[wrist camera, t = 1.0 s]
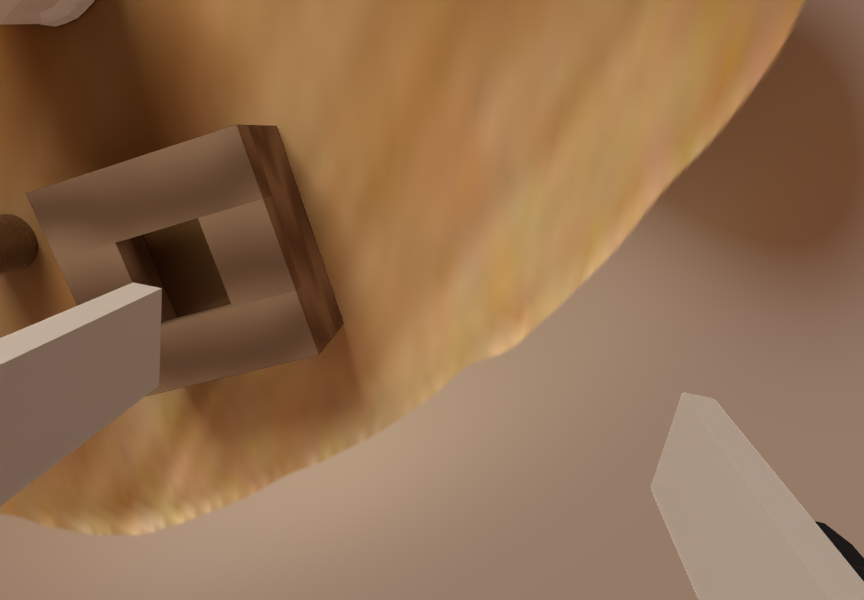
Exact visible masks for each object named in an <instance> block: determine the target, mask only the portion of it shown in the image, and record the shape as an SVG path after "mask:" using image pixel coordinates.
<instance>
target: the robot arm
mask: <svg viewBox="0 0 864 600" xmlns="http://www.w3.org/2000/svg"><path fill="white" fill-rule="evenodd" d="M161 303H162V288H158V287H153V286H148V285H143V284H138V283H131V284H128V285H126V286H123V287H121V288H119V289H116V290H114V291H112V292H109V293H107V294H104V295H102V296H100V297H97V298H95V299H92V300H90V301H88V302H85V303H83V304H81V305H78V306H76V307H73V308H71V309H69V310H66V311H64V312H61V313H59V314H57V315H54V316H52V317H49V318H47V319H45V320H42V321H40V322H38V323H35V324H33V325H30V326H28V327H26V328H23V329H21V330H18V331H16V332H14V333H11V334H9V335H7V336H4V337H2V338H0V506H1V505H3V504H4V503H5V502H7V501H8V500H9V499H11V498H12V497H13V496H15V495H16V494H17V493H18V492H20V491H21V490H22V489H24V488H25V487H26V486H28V485H29V484H30V483H32V482H33V481H34V480H36V479H37V478H38V477H40V476H41V475H42V474H44V473H45V472H46V471H47V470H49V469H50V468H51V467H53V466H54V465H55V464H57V463H58V462H59V461H61V460H62V459H63V458H65V457H66V456H67V455H69V454H70V453H71V452H73V451H74V450H75V449H76V448H78V447H79V446H80V445H82V444H83V443H84V442H86V441H87V440H88V439H90V438H91V437H92V436H94V435H95V434H96V433H98V432H99V431H100V430H102V429H103V428H104V427H105V426H107V425H108V424H109V423H111V422H112V421H113V420H115V419H116V418H117V417H119V416H120V415H121V414H123V413H124V412H125V411H127V410H128V409H129V408H130V407H132V406H133V405H134V404H136V403H137V402H138V401H140V400H141V399H142V398H144V397H145V396H146V395H148V394H149V393H150V392H152V391H153V390H154V389H156V388H157V387H158V386H159V372H160V338H161ZM650 489H651V491H652V494H653V496H654V499H655V501H656V503H657V506H658V508H659V510H660V512H661V515H662V517H663V519H664V522H665V524H666V526H667V529H668V531H669V533H670V535H671V538H672V540H673V543H674V545H675V547H676V550H677V552H678V554H679V556H680V559H681V561H682V563H683V566H684V568H685V570H686V573H687V575H688V577H689V580H690V582H691V584H692V587H693V589H694V591H695V593H696V596H697V598H698V600H864V558H863V557H862V556H861V555H860V553H859V552H858V551H857V550H856V549H855V548H854V546H853V545H852V544H850V543H849V542H848V541H846V540H845V539H844V538H843V537H841V536H840V535H839V534H837V533H836V532H835V531H834V530H832V529H831V528H830V527H828V526H827V525H826V524H824V523H820V522H816V521H814V520H813V519H812V518H811V516H810V515H809V514H808V513H807V511H806V510H805V509H804V508H803V507H802V505H801V504H800V503H799V502H798V501H797V499H796V498H795V497H794V496H793V494H792V493H791V492H790V491H789V489H788V488H787V487H786V486H785V485H784V483H783V482H782V481H781V480H780V478H779V477H778V476H777V475H776V473H775V472H774V471H773V470H772V469H771V467H770V466H769V465H768V464H767V462H766V461H765V460H764V459H763V458H762V456H761V455H760V454H759V453H758V451H757V450H756V449H755V448H754V447H753V445H752V444H751V443H750V442H749V441H748V439H747V438H746V437H745V436H744V434H743V433H742V432H741V431H740V429H739V428H738V427H737V426H736V425H735V423H734V422H733V421H732V420H731V418H730V417H729V416H728V415H727V413H726V412H725V411H724V410H723V409H722V407H721V406H720V405H719V404H718V402H717V401H716V400H715V399H714V398H709V397H704V396H699V395H694V394H688V393H684V392H682V395H681V398H680V401H679V404H678V407H677V410H676V413H675V416H674V419H673V422H672V425H671V428H670V431H669V434H668V437H667V440H666V443H665V446H664V449H663V452H662V454H661V457H660V460H659V463H658V466H657V469H656V473H655V475H654V479H653V481H652V484H651V487H650Z"/></svg>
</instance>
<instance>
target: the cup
mask: <svg viewBox="0 0 864 600" xmlns="http://www.w3.org/2000/svg"><path fill="white" fill-rule="evenodd" d="M94 1H95V0H0V24H41V25H47V26H55V27H56V26H59V25H62V24H65V23H68V22H70V21H73V20H75V19H77V18H78V17H79V16H81V15H82V14H83V13H84V12H85V11H86V10H87V9H88V8H89V7H90V6H91V4H92V3H93V2H94Z"/></svg>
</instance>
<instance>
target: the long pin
mask: <svg viewBox="0 0 864 600" xmlns="http://www.w3.org/2000/svg"><path fill="white" fill-rule="evenodd" d="M37 250H38V245H37V240H36V237H35V234H34V232H33V231H32V229H31V228H30V226H29V225H28V224H27V223H26V222H25V221H23V220H22V219H20V218H19V217H17V216H14V215H10V214H1V215H0V274H3V273H6V272H10V271H13V270H17V269H20V268H24V267H26V266H28V265H30V264H31V263H32V262H33V261H34V259H35V258H36V255H37Z"/></svg>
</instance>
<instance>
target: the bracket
mask: <svg viewBox="0 0 864 600" xmlns="http://www.w3.org/2000/svg"><path fill="white" fill-rule="evenodd" d="M26 195H27V197H28V199H29V202H30V204H31V206H32V208H33V210H34V213H35V215H36V217H37V219H38V221H39V223H40V226H41V228H42V230H43V232H44V234H45V236H46V239H47V241H48V243H49V245H50V247H51V249H52V252H53V254H54V256H55V258H56V260H57V263H58V265H59V267H60V269H61V271H62V273H63V276H64V278H65V280H66V282H67V284H68V286H69V289H70V291H71V293H72V295H73V297H74V299H75V302H76V304H77V306H78V305H81V304H83V303H85V302H88V301H90V300H92V299H95V298H97V297H100V296H102V295H104V294H107V293H109V292H112V291H114V290H116V289H119V288H121V287H123V286H126V285H128V284H131V283H138V284H143V285H148V286H153V287H158V288H162V303H161V338H160V372H159V386H158V387H157V388H156V389H154V390H153V391H152V392H150V393H149V394H148V395H146V396H150V395H154V394H158V393H162V392H166V391H170V390H175V389H179V388H183V387H187V386H191V385H195V384H200V383H204V382H208V381H212V380H216V379H220V378H225V377H229V376H233V375H237V374H241V373H245V372H250V371H254V370H258V369H262V368H266V367H270V366H275V365H279V364H283V363H287V362H291V361H295V360H300V359H304V358H308V357H312V356H316V355H319V354H320V353H321V351H322V350H323V349H324V348H325V346H326V345H327V344H328V343H329V341H330V340H331V339H332V338H333V336H334V335H335V334H336V332H337V331H338V330H339V329H340V327H341V326H342V325H343V324H344V323H343V320H342V317H341V314H340V311H339V308H338V306H337V303H336V300H335V297H334V294H333V291H332V288H331V285H330V282H329V279H328V276H327V273H326V270H325V267H324V264H323V262H322V259H321V256H320V253H319V250H318V247H317V244H316V241H315V238H314V235H313V232H312V229H311V226H310V223H309V220H308V218H307V215H306V212H305V209H304V206H303V203H302V200H301V197H300V194H299V191H298V188H297V185H296V182H295V179H294V177H293V174H292V171H291V168H290V165H289V162H288V159H287V156H286V153H285V150H284V147H283V144H282V141H281V138H280V135H279V133H278V130H277V127H276V126H262V125H234V126H231V127H228V128H225V129H222V130H219V131H216V132H213V133H210V134H206V135H203V136H200V137H197V138H194V139H191V140H188V141H185V142H182V143H179V144H176V145H173V146H170V147H167V148H164V149H160V150H157V151H154V152H151V153H148V154H145V155H142V156H139V157H136V158H133V159H130V160H127V161H124V162H121V163H118V164H114V165H111V166H108V167H105V168H102V169H99V170H96V171H93V172H90V173H87V174H84V175H81V176H78V177H75V178H72V179H68V180H65V181H62V182H59V183H56V184H53V185H50V186H47V187H44V188H41V189H38V190H35V191H32V192H29V193H26ZM197 218H198V220H199V223H200V225H201V228H202V230H203V233H204V236H205V238H206V241H207V243H208V246H209V248H210V251H211V254H212V256H213V259H214V261H215V264H216V266H217V269H218V271H219V274H220V277H221V279H222V282H223V284H224V287H225V289H226V292H227V295H228V297H229V300H230V302H231V304H228V305H224V306H220V307H216V308H212V309H209V310H205V311H201V312H197V313H194V314H190V315H186V316H182V317H178V318H177V317H176V314H175V312H174V309H173V307H172V305H171V302H170V300H169V297H168V295H167V293H166V290H165V288H164V285H163V283H162V281H161V278H160V276H159V273H158V271H157V269H156V266H155V264H154V261H153V259H152V257H151V254H150V252H149V249H148V247H147V245H146V242H145V240H144V237H143V235H144V234H147V233H150V232H154V231H157V230H160V229H164V228H167V227H170V226H174V225H177V224H180V223H184V222H187V221H191V220H194V219H197Z"/></svg>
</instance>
